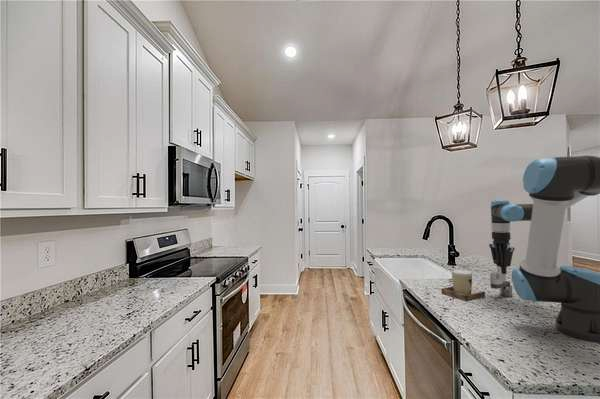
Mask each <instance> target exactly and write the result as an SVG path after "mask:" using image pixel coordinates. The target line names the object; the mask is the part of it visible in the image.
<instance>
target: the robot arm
mask: <svg viewBox="0 0 600 399" xmlns="http://www.w3.org/2000/svg"><path fill="white" fill-rule="evenodd" d="M523 172H524V173H523V175H522V176H523V178H522V183H523V184H522V185H523V188H524V191H525V192H526V193H527V194H528V197H529V198H530V199H531V200H533V202H532V203H524V204H523V203H515V204H514V203H513V204H510V201H509V200H508V199H493V200H491V201H490V216H491V217H490V218H491V219H490V220H491V225H490V226H491V227H490V228H491V240H493V241H492V243H489V244H488V247H489V249H490V251H491V257H492V262H493V264H494V265H496V269H497V272H498V279H499V280H503V281H507V272H508V271H507V267H511V266H512V265H511V264H512V259H513V254H514V252H515V249H516V248H515V247H512V246H511V243H510V240H511V222H526V221H527V222H529V221H530V225H529V226H530V228H529V233H528V234H529V235H528V242H527V243H528V244H527V248H526V257H525V259H524V260H522V261H521V262H519V263H520V264H519V268H513V269H512V271H511V281H512V282H511V283H512V284H513V286H512V287H513V288H514V291H515V293H516V294H517V296H518V297H519V298H520V299H521V300H522V301H527V302H528V301H529V302H534V303H536V302H539V303H558V304H559V303H560V309H559V311H558V314H557V317H556V319H555V328H556V330H558V331H559V332H561V333H563V334H565V335H567V336H570V337H573V338H577V339H580V340H583V341H584V340H585V341H590V342H595V343H596V342H597V343H600V272H598V271H596V270H592V269H588V268H584V267H577V266H570V265H561V266H559V267H558V265H557V262H558V257H559V256H558V255H559V249H560V244H561V238H562V233H563V226H564V222H565V215H566V210H568V209H569V208H571V207H572V206H574V205H576V204H577V203H579V202H581V201H582V200H584V199H586V198H588V197H590V196H594V197H595V196H597V195H600V157H599V156H595V155H577V156H572V155H571V156H555V157H554V156H553V157H552V156H548V157H543V158H535V159H533V160H532V161H531V162H530V163H528V165H527V166H526V168H525V170H524V171H523Z"/></svg>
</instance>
